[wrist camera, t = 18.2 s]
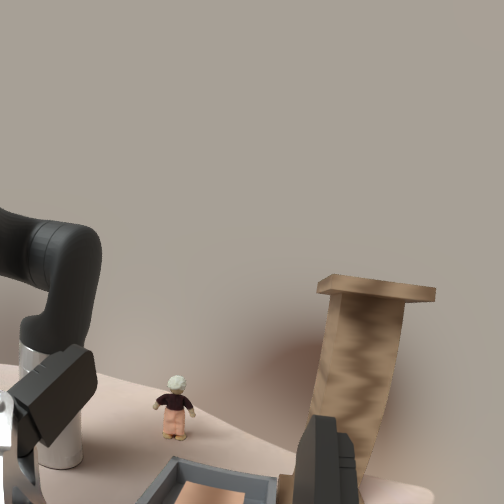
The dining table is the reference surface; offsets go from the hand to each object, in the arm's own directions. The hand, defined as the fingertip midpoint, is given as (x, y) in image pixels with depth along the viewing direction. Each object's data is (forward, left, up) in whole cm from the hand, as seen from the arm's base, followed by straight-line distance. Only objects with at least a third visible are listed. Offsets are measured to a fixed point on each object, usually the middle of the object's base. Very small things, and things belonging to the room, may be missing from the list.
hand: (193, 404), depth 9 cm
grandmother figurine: (-13, +40, -25) cm, 49 cm away
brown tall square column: (+13, +26, -24) cm, 38 cm away
